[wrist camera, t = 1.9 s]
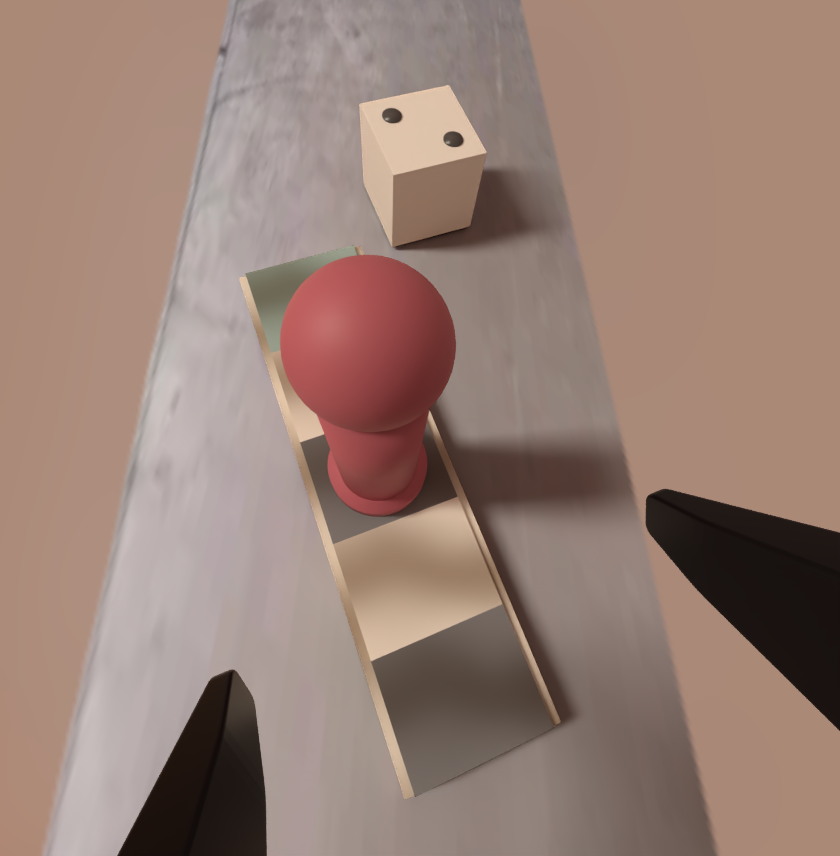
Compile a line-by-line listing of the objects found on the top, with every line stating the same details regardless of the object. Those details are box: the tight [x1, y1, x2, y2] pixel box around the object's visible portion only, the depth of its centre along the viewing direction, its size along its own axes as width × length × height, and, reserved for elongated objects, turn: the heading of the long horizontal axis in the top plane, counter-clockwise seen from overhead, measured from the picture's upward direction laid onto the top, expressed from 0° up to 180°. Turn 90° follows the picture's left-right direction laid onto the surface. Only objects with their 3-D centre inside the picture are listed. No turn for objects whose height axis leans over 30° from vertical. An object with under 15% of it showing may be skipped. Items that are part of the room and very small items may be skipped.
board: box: [239, 245, 561, 800], centre depth 22 cm, size 25×7×1 cm, turn 21°
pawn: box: [280, 255, 456, 517], centre depth 15 cm, size 4×4×14 cm
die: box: [359, 85, 487, 247], centre depth 26 cm, size 5×5×5 cm
